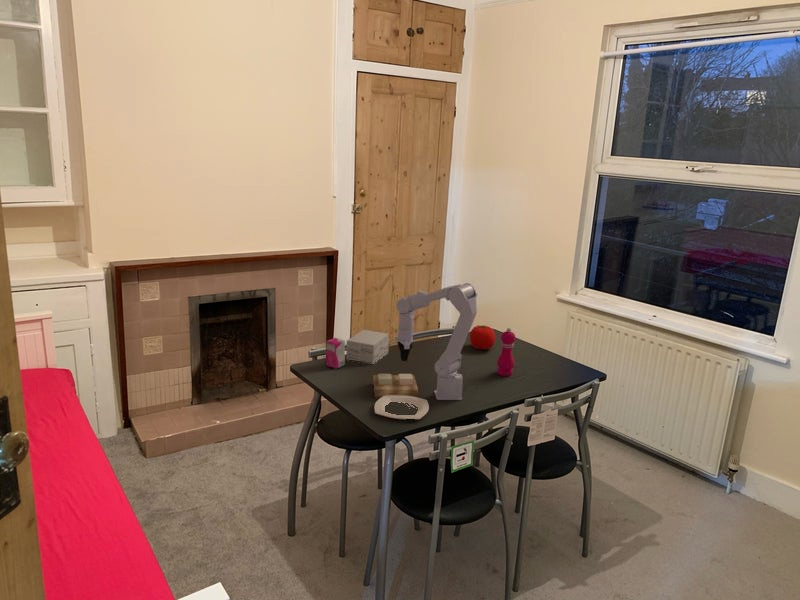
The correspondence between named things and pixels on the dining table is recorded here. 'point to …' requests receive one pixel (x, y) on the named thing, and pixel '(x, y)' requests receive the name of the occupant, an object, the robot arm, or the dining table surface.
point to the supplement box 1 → (335, 353)
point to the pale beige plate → (418, 402)
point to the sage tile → (384, 379)
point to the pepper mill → (506, 354)
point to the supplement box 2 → (367, 346)
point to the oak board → (395, 387)
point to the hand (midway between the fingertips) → (404, 360)
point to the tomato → (482, 337)
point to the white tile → (405, 379)
